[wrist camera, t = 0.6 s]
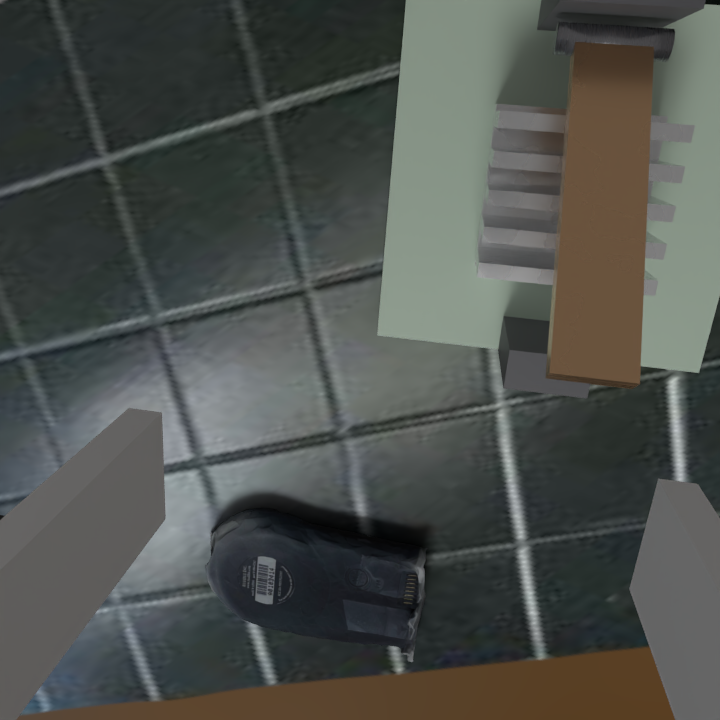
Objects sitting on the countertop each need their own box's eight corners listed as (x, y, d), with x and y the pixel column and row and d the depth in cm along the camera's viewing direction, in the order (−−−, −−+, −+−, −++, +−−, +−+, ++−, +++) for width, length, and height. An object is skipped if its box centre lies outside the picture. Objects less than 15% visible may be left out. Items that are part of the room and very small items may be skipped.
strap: (524, 377, 24) (530, 369, 23) (553, 36, 28) (560, 14, 26) (651, 392, 24) (663, 385, 22) (664, 43, 27) (675, 21, 26)
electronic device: (428, 510, 46) (210, 493, 46) (435, 571, 41) (190, 552, 41) (412, 605, 50) (212, 590, 50) (416, 670, 46) (195, 654, 45)
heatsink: (474, 259, 37) (476, 284, 31) (495, 104, 34) (500, 101, 28) (624, 274, 36) (653, 303, 30) (658, 116, 33) (697, 116, 28)
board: (379, 329, 40) (353, 393, 31) (409, -8, 34) (387, -56, 25) (692, 365, 38) (764, 445, 29) (785, 13, 32) (916, -30, 23)
